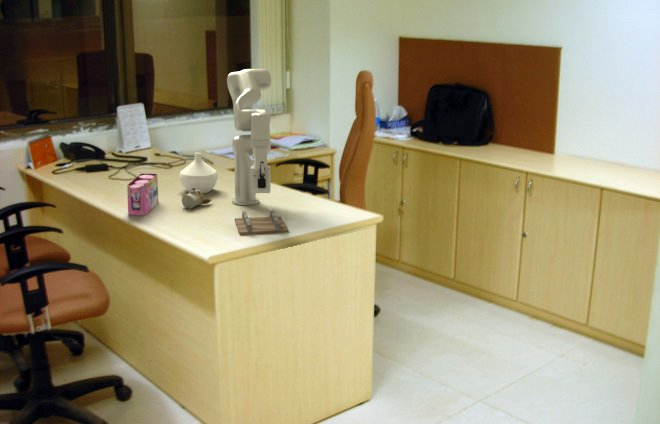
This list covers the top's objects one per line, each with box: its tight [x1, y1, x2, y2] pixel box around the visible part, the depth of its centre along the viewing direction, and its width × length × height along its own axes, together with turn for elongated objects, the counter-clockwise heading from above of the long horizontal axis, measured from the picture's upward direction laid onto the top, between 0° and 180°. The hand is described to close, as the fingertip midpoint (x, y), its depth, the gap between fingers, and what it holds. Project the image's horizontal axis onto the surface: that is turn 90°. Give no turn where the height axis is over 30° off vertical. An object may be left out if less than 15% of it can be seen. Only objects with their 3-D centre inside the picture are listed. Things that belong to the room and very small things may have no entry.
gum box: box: [126, 172, 159, 216], centre depth 347 cm, size 24×8×14 cm, turn 177°
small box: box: [250, 165, 272, 194], centre depth 320 cm, size 8×6×10 cm
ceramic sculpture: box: [181, 188, 213, 210], centre depth 354 cm, size 11×9×15 cm
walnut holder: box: [234, 209, 289, 236], centre depth 325 cm, size 20×20×4 cm
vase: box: [179, 151, 219, 194], centre depth 376 cm, size 18×18×19 cm
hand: (260, 185), depth 321 cm, fingers closed on small box, 6 cm apart
